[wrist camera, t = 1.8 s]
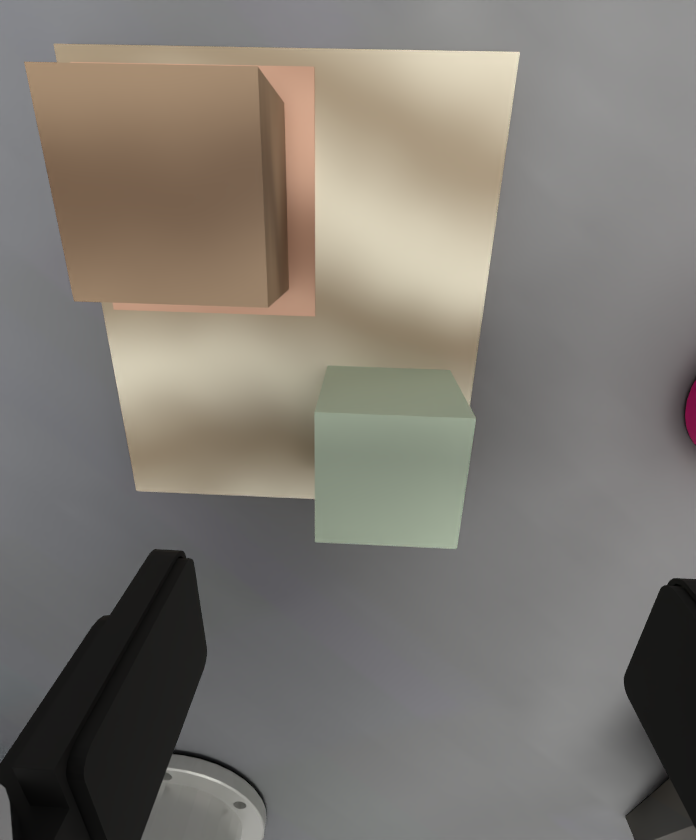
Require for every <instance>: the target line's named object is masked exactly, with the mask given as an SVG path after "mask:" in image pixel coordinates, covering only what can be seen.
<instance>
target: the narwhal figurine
mask: <svg viewBox="0 0 696 840" xmlns="http://www.w3.org/2000/svg"><path fill="white" fill-rule="evenodd" d="M626 820H627V822H628V824H629V827H630V829H631V832H632V834H633V837H634V839H635V840H696V828H695V827H694V825H693V823H692V821H691V819H690V817H689V815H688V813H687V811H686V809H685V807H684V805H683V803H682V801H681V799H680V797H679V795H678V793H677V792H676V790H675V788H674V786H673V784H672V782H671V780H670V778H669V779H668V780H667V781H666V782H665V783H663V784H662V785H661V786H660V787H659V788H658V789H657V790H656V791H654V792H653V793H652V794H651V795H650V796H649V797H648V798H646V799H645V800H644V801H643V802H642V803H641V804H640V805H638V806H637V807H636V808H635V809H634V810H633V811H631V812H630V813H629V814H628V815H627V816H626Z"/></svg>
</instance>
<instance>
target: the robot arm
mask: <svg viewBox="0 0 696 840" xmlns="http://www.w3.org/2000/svg"><path fill="white" fill-rule="evenodd" d="M206 657H207V646H206V640H205V633H204V627H203V620H202V613H201V607H200V600H199V594H198V587H197V580H196V574H195V567H194V562H193V560H192V559H189V558H186V556H185V553H184V552H183V551H178V550H160V549H155V550H153V551H152V552H151V553H150V554H149V556H148V557H147V559H146V560H145V562H144V563H143V565H142V566H141V568H140V569H139V571H138V573H137V574H136V576H135V577H134V579H133V580H132V582H131V583H130V585H129V586H128V588H127V590H126V591H125V593H124V594H123V596H122V597H121V599H120V600H119V602H118V604H117V605H116V607H115V608H114V610H113V611H112V613H111V614H110V615H106V616H103V617H101V618H100V619H98V620H97V622H96V623H95V624H94V625H93V626H92V628H91V629H90V631H89V632H88V634H87V635H86V637H85V638H84V640H83V641H82V643H81V644H80V646H79V647H78V649H77V650H76V652H75V653H74V655H73V656H72V658H71V659H70V660H69V662H68V663H67V665H66V666H65V668H64V669H63V671H62V672H61V674H60V675H59V677H58V678H57V680H56V681H55V683H54V684H53V686H52V687H51V689H50V690H49V692H48V693H47V695H46V696H45V698H44V699H43V701H42V702H41V704H40V705H39V707H38V708H37V710H36V711H35V713H34V714H33V716H32V717H31V719H30V720H29V722H28V723H27V725H26V726H25V728H24V729H23V731H22V732H21V734H20V735H19V737H18V738H17V740H16V741H15V743H14V744H13V746H12V747H11V749H10V750H9V751H8V753H7V754H6V756H5V757H4V759H3V760H2V762H1V763H0V840H262V839H263V837H264V831H265V826H266V820H267V817H266V808H265V806H264V803H263V801H262V799H261V797H260V796H259V795H258V793H257V792H256V791H255V789H254V788H253V787H252V786H251V785H250V784H249V783H247V782H246V781H245V780H244V779H243V778H241V777H240V776H238V775H237V774H235V773H234V772H232V771H230V770H228V769H226V768H224V767H222V766H220V765H218V764H215V763H212V762H209V761H206V760H203V759H200V758H195V757H190V756H185V755H177V754H173V751H174V748H175V746H176V743H177V740H178V737H179V735H180V732H181V729H182V727H183V724H184V721H185V718H186V716H187V713H188V710H189V708H190V705H191V702H192V699H193V697H194V694H195V691H196V689H197V686H198V683H199V680H200V678H201V675H202V672H203V670H204V666H205V662H206ZM624 687H625V691H626V694H627V696H628V698H629V700H630V702H631V704H632V706H633V708H634V710H635V712H636V714H637V716H638V718H639V720H640V722H641V724H642V725H643V727H644V729H645V731H646V733H647V735H648V737H649V739H650V741H651V743H652V745H653V747H654V749H655V751H656V753H657V755H658V757H659V759H660V760H661V762H662V764H663V766H664V768H665V770H666V772H667V774H668V776H669V778H670V780H671V782H672V784H673V786H674V788H675V790H676V792H677V793H678V795H679V797H680V799H681V801H682V803H683V805H684V807H685V809H686V811H687V813H688V815H689V817H690V819H691V821H692V823H693V825H694V827H695V828H696V579H680V578H674V579H672V580H670V581H669V583H668V585H664V586H663V587H661V589H660V591H659V593H658V596H657V598H656V600H655V603H654V605H653V608H652V610H651V613H650V615H649V617H648V620H647V622H646V625H645V627H644V629H643V632H642V634H641V637H640V639H639V641H638V644H637V646H636V649H635V651H634V653H633V656H632V658H631V661H630V663H629V666H628V668H627V670H626V673H625V676H624Z"/></svg>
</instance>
